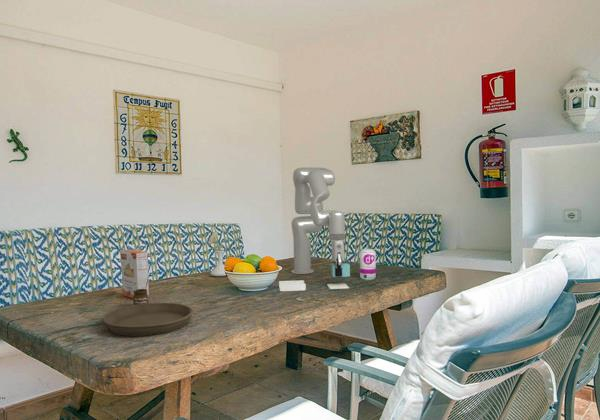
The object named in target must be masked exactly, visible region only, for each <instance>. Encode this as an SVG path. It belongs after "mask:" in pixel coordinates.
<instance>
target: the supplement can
mask: <svg viewBox="0 0 600 420" xmlns="http://www.w3.org/2000/svg"><path fill="white" fill-rule="evenodd" d="M376 253H377V252H376V250H375V249H372V248H363V249H360V252H359V278H360V279H361V280H367V281H370V280H371V281H372V280H375V279H376V277H377V264H376V263H377V262H376V261H377V259H376V258H377V257H376V256H377V254H376Z"/></svg>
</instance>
